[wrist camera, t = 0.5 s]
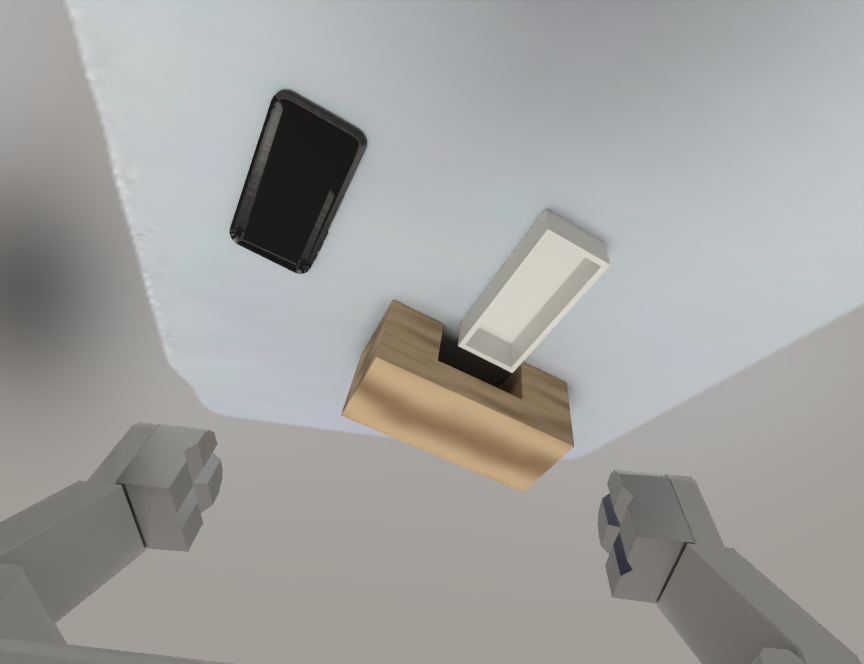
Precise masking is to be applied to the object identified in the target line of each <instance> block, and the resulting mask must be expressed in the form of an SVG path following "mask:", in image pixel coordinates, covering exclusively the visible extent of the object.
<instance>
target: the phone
mask: <svg viewBox="0 0 864 664" xmlns="http://www.w3.org/2000/svg"><path fill="white" fill-rule="evenodd" d="M350 125H351V124H350V123H348V122H346V121H344V120H343V119H341V118H339V117H337V116H336V115H334V114H332V113H330V112H329V111H327V110H325V109H323V108H321V107H320V106H318V105H316V104H314V103H313V102H311V101H309V100H307V99H306V98H304V97H302V96H300V95H299V94H297V93H295V92H293V91H291V90H282V91H280V92H278V93H277V94H276V95H275V96H274V97H273V98H272V100H271V103H270V106H269V109H268V113H267V116H266V119H265V122H264V125H263V128H262V131H261V134H260V137H259V140H258V144H257V147H256V150H255V153H254V156H253V159H252V162H251V165H250V168H249V171H248V175H247V178H246V181H245V184H244V187H243V190H242V193H241V196H240V199H239V202H238V206H237V209H236V212H235V215H234V218H233V221H232V224H231V227H230V236H231V238H232V240H233V241H234V242H235V243H237V244H238V245H240V246H242V247H244V248H246V249H248V250H250V251H252V252H254V253H256V254H259V255H261V256H263V257H265V258H267V259H269V260H271V261H273V262H275V263H277V264H279V265H281V266H283V267H285V268H287V269H289V270H291V271H293V272H295V273H299V274H303V273H306V272H308V270H309V269H310V267H311V266H312V264H313V261H314V260H315V259H316V257H317V253H318V251H320V249H321V247H322V244H323V241H324V240H325V238H326V236H327V234H328V233H327V231H328V229H329V227H330V225H331V223H332V220H333V218H334V216H335V214H336V212H337V210H338V207H339V205H340V203H341V201H342V199H343V197H344V194H345V192H346V190H347V188H348V186H349V184H350V181H351V179H352V177H353V175H354V173H355V171H356V168H357V166H358V164H359V162H360V160H361V158H362V155H363V153H364V151H365V149H366V145H367V140H366V137H365V135H364V133H363V132H362V131H361V130H360V129H358V128H357V127H355V126H353V125H351V126H350Z"/></svg>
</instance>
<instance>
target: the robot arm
mask: <svg viewBox="0 0 864 664" xmlns="http://www.w3.org/2000/svg"><path fill="white" fill-rule="evenodd" d="M216 445H217V441H216V438H215V434H214V432H212V431H210V430H204V429H196V428H187V427H180V426H172V425H164V424H163V425H160V424H152V423H143V422H139V423H137V424H135V425H133V426H132V427H131V428H130V429H129V430H128V431H127V433H126V434H125V435H124V436H123V437H122V439H121V440H120V441H119V443H118V444H117V445H116V446H115V447H114V449H113V450H112V451H111V452H110V453H109V455H108V456H107V457H106V458H105V460H104V461H103V462H102V463H101V464H100V466H99V467H98V468H97V470H96V471H95V472H94V473H93V474H92V476H91V477H90V478H89V479H88V480H87V481H78V482H76V483H74V484H72V485H70V486H68V487H66V488H64V489H63V490H61V491H59V492H57V493H55V494H53V495H51V496H49V497H47V498H46V499H44V500H42V501H40V502H38V503H36V504H34V505H33V506H30V507H29V508H27V509H25V510H23V511H21V512H19V513H17V514H15V515H13V516H11V517H10V518H8V519H6V520H4V521H2V522H0V664H232V663H224V662H215V661H205V660H198V659H189V658H180V657H172V656H163V655H154V654H145V653H136V652H127V651H119V650H110V649H102V648H101V649H100V648H93V647H85V646H76V645H67V644H66V641H65V640H64V638H63V636H62V634H61V633H60V631H59V629H58V627H57V626H56V624H55V623H56V622H57V621H59V620H60V619H61V618H62V617H64V616H65V615H66V614H67V613H69V612H70V611H71V610H72V609H74V608H75V607H76V606H77V605H78V604H80V603H81V602H82V601H83V600H85V599H86V598H87V597H88V596H90V595H91V594H92V593H93V592H94V591H96V590H97V589H98V588H100V587H101V586H102V585H103V584H105V583H106V582H107V581H108V580H110V579H111V578H112V577H113V576H115V575H116V574H117V573H118V572H120V571H121V570H122V569H123V568H124V567H126V566H127V565H128V564H129V563H131V562H132V561H133V560H134V559H136V558H137V557H138V556H139V555H141V554H142V553H143V552H144V551H145V548H149V549H162V550H175V551H188V550H189V549H190V547H191V545H192V543H193V541H194V539H195V537H196V535H197V534H198V532H199V530H200V528H201V526H202V524H203V521H202V517H201V512H203V511H204V510H206V509H207V508H209V507H210V506H212V505H213V503H214V501H215V499H216V497H217V495H218V493H219V489H220V485H221V482H222V464H221V460H220V459H219V458H218V457H217V456H216V455H215V454H214V453H213V450H214V449H215V447H216ZM607 484H608V488H609V492H610V493H609V494H608V495H606V496H605V497H603V498H602V501H601V504H600V508H599V515H598V531H599V538H600V543H601V546H602V547H603V548H604V549H605V550H606V551H607V552H608V553H609V557H608V560H607V562H606V565H605V567H606V571H607V575H608V580H609V585H610V589H611V593H612V597H614V598H622V599H629V600H636V601H645V602H651V603H658V604H657V607H658V608H659V609H660V610H661V612H662V613H663V614H664V615H665V617H666V618H667V619H668V621H669V622H670V623H671V625H672V626H673V627H674V628H675V630H676V631H677V632H678V634H679V635H680V636H681V637H682V639H683V640H684V641H685V643H686V644H687V645H688V646H689V648H690V649H691V650H692V652H693V653H694V654H695V655H696V657H697V658H698V659H699V661H700V662H701V663H702V664H861V662H860V660H859V659H858V657H857V655H855V654H854V653H853V652H852V651H851V650H850V649H848V648H847V647H846V646H845V645H844V644H843V643H842V642H840V641H839V640H838V639H837V638H836V637H835V636H834V635H832V634H831V633H830V632H829V631H828V630H826V628H824V627H823V626H822V625H821V624H820V623H819V622H817V621H816V620H815V619H814V618H813V617H811V615H809V614H808V613H807V612H806V611H805V610H804V609H802V608H801V607H800V606H799V605H798V604H797V603H796V602H794V601H793V600H792V599H791V598H790V597H789V596H788V595H786V594H785V593H784V592H783V591H782V590H781V589H779V588H778V587H777V586H776V585H775V584H774V583H773V582H771V581H770V580H769V579H768V578H767V577H766V576H765V575H763V574H762V573H761V572H760V571H759V570H757V569H756V568H755V567H754V566H753V565H752V564H751V563H750V562H748V561H747V560H746V559H745V558H744V557H743V556H741V555H740V554H739V553H738V552H737V551H736V550H735V549H733V548H727V547H725V546H724V544H723V542H722V539H721V537H720V535H719V532H718V530H717V528H716V526H715V523H714V521H713V519H712V517H711V514H710V512H709V510H708V508H707V506H706V503H705V501H704V499H703V497H702V494H701V492H700V490H699V488H698V485H697V483H696V481H695V480H694V479H693V478H692V477H688V476H678V475H666V474H665V475H663V474H654V473H643V472H632V471H621V470H614V471H613V472H612V473H611V474H610V477H609V480H608V483H607Z"/></svg>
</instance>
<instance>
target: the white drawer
mask: <svg viewBox="0 0 864 664" xmlns="http://www.w3.org/2000/svg"><path fill="white" fill-rule="evenodd" d="M609 266H610V262H609V258H608V254H607V251H606V247H605V244H604V242H603V241H601V240H599V239H597V238H596V237H594V236H592V235H590V234H589V233H587V232H585V231H584V230H582V229H580V228H578V227H577V226H575V225H573V224H572V223H570V222H568V221H566V220H565V219H563V218H561V217H560V216H558V215H556V214H554V213H553V212H551V211H549V210H547V209H545V210H544V211H543V213H542V214H541V215H540V217H539V218H538V219H537V221H536V222H535V223H534V225H533V226H532V227H531V229H530V230H529V231H528V233H527V234H526V235H525V237H524V238H523V239H522V241H521V242H520V243H519V245H518V246H517V247H516V249H515V250H514V251H513V253H512V254H511V255H510V257H509V258H508V259H507V261H506V262H505V263H504V265H503V266H502V267H501V269H500V270H499V271H498V273H497V274H496V276H495V277H494V278H493V280H492V281H491V282H490V284H489V285H488V286H487V288H486V289H485V290H484V292H483V293H482V294H481V296H480V297H479V298H478V300H477V301H476V302H475V304H474V305H473V306H472V308H471V309H470V310H469V312H468V313H467V314H466V316H465V317H464V318H463V320H462V321H461V325H460V333H459V341H458V346H459V347H461V348H463V349H465V350H467V351H469V352H471V353H473V354H475V355H477V356H479V357H481V358H483V359H485V360H487V361H489V362H491V363H493V364H495V365H497V366H499V367H501V368H503V369H505V370H507V371H509V372H511V373H513V372H514V371H515V370H516V369H517V368H518V367H519V365H520V364H521V363H522V362H523V361H524V360H525V359H526V358H527V357H528V356H529V354H530V353H531V352H532V351H533V350H534V349H535V348H536V347H537V346H538V344H539V343H540V342H541V341H542V340H543V339H544V338H545V337H546V336H547V334H548V333H549V332H550V331H551V330H552V329H553V328H554V327H555V326H556V325H557V323H558V322H559V321H560V320H561V319H562V318H563V317H564V316H565V315H566V313H567V312H568V311H569V310H570V309H571V308H572V307H573V306H574V305H575V304H576V302H577V301H578V300H579V299H580V298H581V297H582V296H583V295H584V294H585V292H586V291H587V290H588V289H589V288H590V287H591V286H592V285H593V284H594V282H595V281H596V280H597V279H598V278H599V277H600V276H601V275H602V274H603V273H604V271H605V270H606V269H607V268H608V267H609Z"/></svg>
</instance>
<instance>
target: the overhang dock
mask: <svg viewBox="0 0 864 664" xmlns="http://www.w3.org/2000/svg"><path fill="white" fill-rule="evenodd" d="M442 331H443V323H441V322H439V321H437V320H434V319H432V318H430V317H428V316H426V315H424V314H422V313H420V312H418V311H416V310H414V309H411V308H409V307H407V306H405V305H403V304H401V303H399V302H397V301H395V300H393V301H392V303H391V305H390V307H389V308H388V310H387V312H386V313H385V315H384V317H383V319H382V320H381V322H380V324H379V326H378V327H377V329H376V331H375V332H374V334H373V336H372V338H371V339H370V341H369V343H368V345H367V346H366V348H365V350H364V351H363V353H362V355H361V357H360V360H359V363H358V366H357V369H356V372H355V375H354V378H353V381H352V384H351V387H350V390H349V393H348V396H347V399H346V402H345V405H344V408H343V411H342V414H341V416H344V417H346V418H348V419H351V420H353V421H355V422H358V423H360V424H362V425H365V426H367V427H370V428H372V429H374V430H377V431H379V432H381V433H384V434H386V435H389V436H391V437H393V438H396V439H398V440H400V441H403V442H405V443H408V444H410V445H412V446H415V447H417V448H420V449H422V450H424V451H427V452H429V453H431V454H434V455H436V456H438V457H441V458H443V459H445V460H448V461H450V462H453V463H455V464H457V465H460V466H462V467H465V468H467V469H469V470H472V471H474V472H476V473H479V474H481V475H483V476H486V477H488V478H491V479H493V480H495V481H498V482H500V483H502V484H505V485H508V486H510V487H512V488H514V489H517V490H519V491H521V492H524V491H525V490H526V489H527V488H528V487H529V486H531V485H532V484H533V482H535V481H536V480H537V479H538V478H539V477H540V476H542V475H543V474H544V473H545V472H546V471H547V470H548V469H549V468H551V467H552V466H553V465H554V464H555V463H556V462H557V461H558V460H559V459H561V458H562V457H563V456H564V455H565V454H566V453H567V452H568V451H570V450H571V449H572V448H573V447H574V441H573V433H572V425H571V416H570V408H569V400H568V392H567V383H566V382H564V381H562V380H560V379H558V378H556V377H553V376H551V375H549V374H547V373H545V372H543V371H541V370H539V369H537V368H535V367H533V366H531V365H528V364H526V363H524V362H522V363H521V364H520V365H519V367H518V368H517V369H516V370H515V371H514V372H513V373H511V374H510V375H509V376H508V377H507V378H506V380H505V381H504V382H503V383H502V384H501V385H500V387H499V388H496V387H494V386H492V385H490V384H488V383H486V382H483V381H481V380H479V379H477V378H475V377H473V376H470V375H468V374H466V373H464V372H462V371H460V370H458V369H455V368H453V367H451V366H449V365H447V364H445V363H442V362H440V361H438V356H439V349H440V343H441V337H442Z"/></svg>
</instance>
